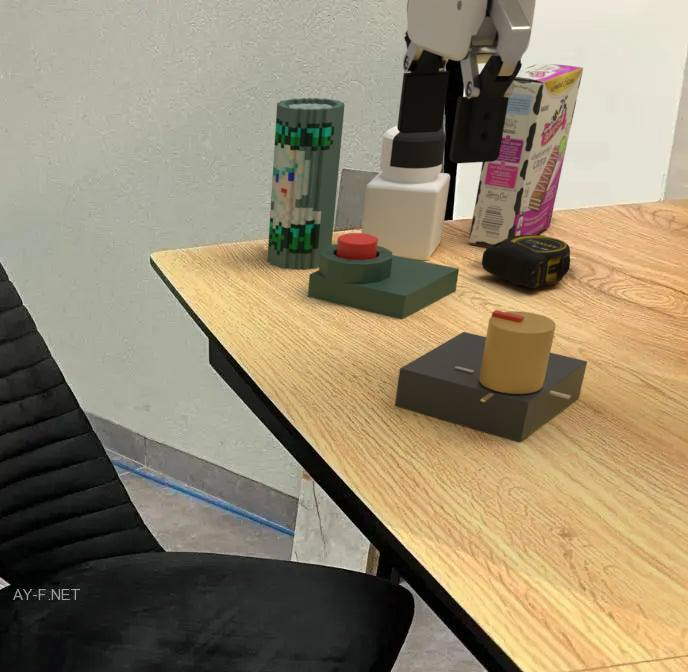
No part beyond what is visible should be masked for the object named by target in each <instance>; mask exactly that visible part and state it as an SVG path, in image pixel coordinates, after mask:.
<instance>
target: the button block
mask: <svg viewBox="0 0 688 672" xmlns="http://www.w3.org/2000/svg"><path fill="white" fill-rule="evenodd" d="M336 254H337V243H336V244H332V245H330V246H328V247H326V248H323V249H322V250H321V254H320V264H319V268H318V270H316V271H314V272H312V273H309V277H308V288H307V297H308V298H310V299H311V298H312V299H316V300H319V301H325V302H329V303H332V304H337V305H341V306H344V307H349V308H354V309H357V310H362V311H366V312H369V313H375V314H378V315H381V316H382V315H383V316H387V317H391V318H395V319H399V320H404V319H406V318H407V317H409V316H411V315H413V314H415V313H417V312H419V311H421V310H422V309H425V308H427V307H429V306H430V305H432V304H434V303H436V302H438V301H440V300H442V299H444V298H445V297H448V296H449V295H451V294H453V293H455V292H456V291H457V284H458V277H459V271H460V270H459V269H460V268H457V267H454V266H453V267H452V266H448V265H444V264H438V263H433V262H428V261H423V260H414V259H409V258H404V257H399V256H394V255H392V252H391V251H389V250H388V249H386V248H384V247H381V246H377V253H376V258H374V259H367V260H349V259H344V258H339V257H337V256H336Z"/></svg>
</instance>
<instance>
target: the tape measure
mask: <svg viewBox="0 0 688 672" xmlns="http://www.w3.org/2000/svg"><path fill="white" fill-rule="evenodd" d="M481 266H482V269H483V270H484V271H485V272H487V273H489V274H491V275H493V276H494V277H497V278H500V279H503V280H505V281H508V282H509V283H510V284H511V285H515V286H519V285H520V286H524V287H526V288H530V289H538V288H539V287H542V286H547V285H554V284H557V283H559V282H560V281H562V280H563V278H564V277H565V276H566V275H567V273H568V272H569V271H570V267H571V248H570V246H569V244H568V243H566V241H563V240H561V239H559V238H555V237H552V236H547V235H539V234H537V235H519V236H512V237H509V238H507V239H504V240H503V241H501V242H499V243H496V244H494V245H492V246H490V247H486V248H485V250H484V251H483V253H482V259H481Z"/></svg>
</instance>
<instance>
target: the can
mask: <svg viewBox="0 0 688 672" xmlns="http://www.w3.org/2000/svg"><path fill="white" fill-rule="evenodd" d="M344 114H345V102H344V101H343V102H342V101H341V100H337V99H330V98H325V97H324V98H319V97H313V98H312V97H301V98H290V99H284V100H280V101H278V102H277V103H276V115H275V116H276V118H275V130H274V131H275V133H274V145H273V146H274V148H273V163H272V180H271V194H270V195H271V196H270V211H269V212H270V213H269V229H268V242H267V243H268V245H267V262H268V263H270V265H272V266H274V267H278V268H282V269H291V270H293V271H294V270H298V271H299V270H304V271H306V270H309V269H311V270H316V269H319V264H320V254H321V250H322V249H323V248H326V247H328V246H330V245H333V235H334V234H333V233H334V225H335V213H336V204H337V203H336V202H337V193H338V191H337V190H338V180H339V172H340V171H339V170H340V169H339V168H340V161H341V160H340V158H341V148H342V147H341V146H342V138H343V125H344V116H345V115H344Z"/></svg>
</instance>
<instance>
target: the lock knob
mask: <svg viewBox="0 0 688 672" xmlns="http://www.w3.org/2000/svg"><path fill="white" fill-rule="evenodd" d="M556 327H557V325H556V322H555V321H554V320H553V319H552V318H550V317H548V316H545V315H542V314H538V313H534V312H529V311H515V310H514V311H511V310H510V311H502V310H498V309H495V310H494V311H492V312H491V315H490V317H489V319H488V325H487V330H486V336H485V337H486V341H485V347H484V352H483V358H482V364H481V369H480V375H479V381H480V383H481V384H482V385H483V386H485V387H487V388H489V389H491V390H494V391H497V392H502V393H508V394H529V393H533V392H536V391H539V390H540V389H541V388H542V387H543V384H544V379H545V375H546V370H547V365H548V360H549V356H550V353H551V352H552V351H551V350H552V346H553V342H554V336H555V332H556Z"/></svg>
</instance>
